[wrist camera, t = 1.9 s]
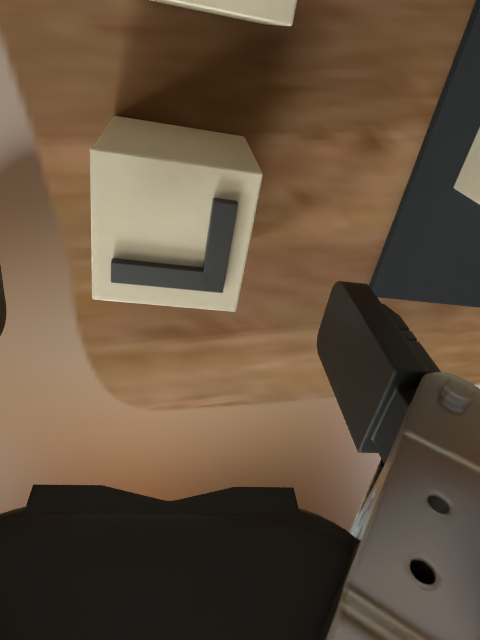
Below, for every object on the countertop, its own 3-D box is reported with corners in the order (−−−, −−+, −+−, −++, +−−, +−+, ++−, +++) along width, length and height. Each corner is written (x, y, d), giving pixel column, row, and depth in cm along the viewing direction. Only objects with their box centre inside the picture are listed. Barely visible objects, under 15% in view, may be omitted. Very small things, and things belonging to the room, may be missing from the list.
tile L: (113, 115, 15) (87, 150, 11) (245, 136, 16) (265, 176, 12) (111, 239, 18) (89, 304, 14) (225, 252, 18) (237, 317, 14)
